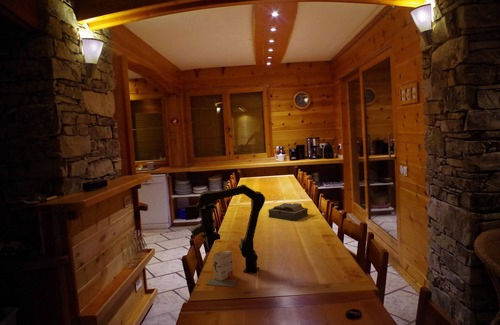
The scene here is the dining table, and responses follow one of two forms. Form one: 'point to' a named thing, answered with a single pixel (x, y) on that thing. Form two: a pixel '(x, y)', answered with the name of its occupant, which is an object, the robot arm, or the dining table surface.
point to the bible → (288, 212)
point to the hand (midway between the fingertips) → (209, 249)
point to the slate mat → (222, 283)
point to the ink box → (222, 265)
